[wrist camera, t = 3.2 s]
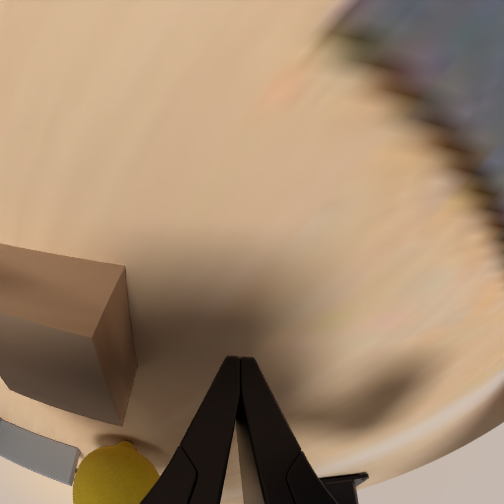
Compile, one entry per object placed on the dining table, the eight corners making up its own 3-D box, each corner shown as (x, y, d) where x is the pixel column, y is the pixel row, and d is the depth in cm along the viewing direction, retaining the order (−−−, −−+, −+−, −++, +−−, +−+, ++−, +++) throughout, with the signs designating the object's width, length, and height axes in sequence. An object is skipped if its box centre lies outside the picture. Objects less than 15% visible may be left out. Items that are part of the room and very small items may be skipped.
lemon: (167, 461, 18) (158, 558, 11) (94, 443, 17) (75, 537, 11) (172, 436, 15) (159, 562, 9) (80, 413, 14) (51, 532, 8)
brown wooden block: (138, 362, 12) (122, 426, 9) (36, 336, 11) (9, 389, 9) (127, 261, 9) (91, 337, 6) (3, 240, 8) (-45, 295, 6)
